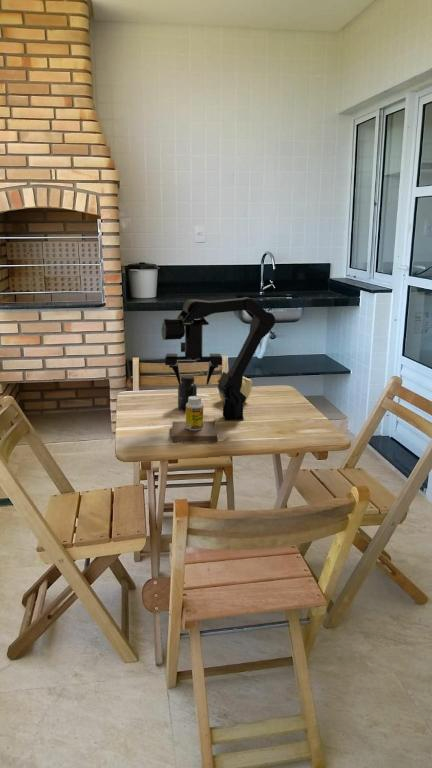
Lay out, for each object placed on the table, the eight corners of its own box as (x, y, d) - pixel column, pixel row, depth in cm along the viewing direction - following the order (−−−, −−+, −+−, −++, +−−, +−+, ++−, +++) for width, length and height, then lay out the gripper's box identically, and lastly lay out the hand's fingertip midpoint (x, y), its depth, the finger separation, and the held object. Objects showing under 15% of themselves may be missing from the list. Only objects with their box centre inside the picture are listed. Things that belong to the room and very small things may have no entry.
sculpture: (255, 400, 225) (256, 373, 222) (239, 408, 215) (240, 379, 213) (229, 395, 231) (230, 369, 228) (213, 403, 221) (213, 375, 219)
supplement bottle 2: (191, 432, 183) (191, 401, 181) (182, 427, 188) (182, 396, 185) (206, 429, 186) (206, 398, 184) (197, 424, 191) (197, 394, 188)
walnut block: (214, 426, 195) (215, 421, 194) (217, 441, 181) (217, 435, 181) (172, 427, 194) (172, 421, 194) (171, 442, 181) (171, 436, 180)
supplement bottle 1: (174, 409, 213) (174, 377, 210) (182, 404, 219) (182, 373, 216) (192, 412, 210) (192, 379, 207) (199, 406, 216) (199, 375, 213)
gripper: (220, 334, 201) (219, 378, 205) (165, 334, 200) (166, 378, 204) (222, 340, 190) (221, 386, 194) (164, 340, 189) (165, 386, 193)
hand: (193, 384), depth 197 cm, fingers open, 9 cm apart
